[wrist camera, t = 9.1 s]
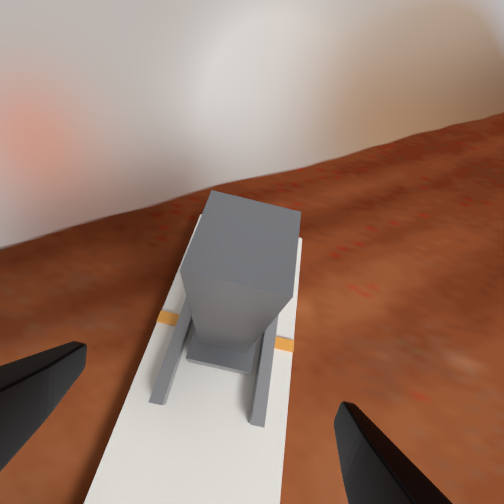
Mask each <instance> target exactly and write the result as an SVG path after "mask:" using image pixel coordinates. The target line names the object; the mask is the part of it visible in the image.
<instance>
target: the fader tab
mask: <svg viewBox="0 0 504 504" xmlns="http://www.w3.org/2000/svg"><path fill="white" fill-rule="evenodd" d="M300 218H301V212H300V211H295V210H291V209H287V208H283V207H279V206H275V205H271V204H266V203H262V202H258V201H254V200H250V199H246V198H242V197H238V196H233V195H229V194H225V193H221V192H217V191H213V190H212V191H211V193H210V196H209V198H208V201H207V203H206V206H205V208H204V211H203V213H202V216H201V218H200V221H199V223H198V226H197V228H196V231H195V233H194V236H193V238H192V241H191V243H190V246H189V248H188V251H187V253H186V256H185V258H184V261H183V263H182V266H181V268H180V274H181V278H182V281H183V285H184V289H185V292H186V296H187V300H188V304H189V307H190V311H191V315H192V319H193V322H194V326H195V330H194V333H193V336H192V339H191V343H190V346H189V349H188V352H187V356H186V359H187V361H188V362H191V363H195V364H200V365H204V366H209V367H213V368H218V369H222V370H227V371H231V372H236V373H240V374H245V375H248V374H250V373H251V370H252V364H253V358H254V352H255V346H256V341H257V340H258V338H259V337H260V336H261V335H262V334H263V332H264V331H265V330H266V329H267V328H268V326H269V325H270V324H271V323H272V322H273V320H274V319H275V318H276V317H277V316H278V314H279V313H280V312H281V311H282V309H283V308H284V307H285V306H286V305H287V303H288V302H289V301H290V300H291V299H292V297H293V291H294V281H295V270H296V260H297V249H298V239H299V228H300Z"/></svg>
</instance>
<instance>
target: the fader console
mask: <svg viewBox="0 0 504 504" xmlns="http://www.w3.org/2000/svg"><path fill="white" fill-rule="evenodd" d="M201 216H202V214H200V217H199V219H198V222H197V224H196V227H195V229H194V232H193V234H192V237H191V239H190V242H189V244H188V247H187V249H186V252H185V254H184V256H183V259H182V261H181V264H180V266H179V269H178V271H177V274H176V276H175V279H174V281H173V284H172V286H171V289H170V291H169V294H168V296H167V299H166V301H165V304H164V306H163V308H162V310H161V311H160V314H159V316H158V319H157V323H156V326H155V328H154V331H153V333H152V336H151V338H150V341H149V343H148V346H147V348H146V351H145V353H144V356H143V358H142V360H141V363H140V365H139V368H138V370H137V373H136V375H135V378H134V380H133V383H132V385H131V388H130V390H129V393H128V395H127V398H126V400H125V403H124V405H123V408H122V410H121V412H120V415H119V417H118V420H117V422H116V425H115V427H114V430H113V432H112V435H111V437H110V440H109V442H108V445H107V447H106V450H105V452H104V455H103V457H102V460H101V462H100V464H99V467H98V469H97V472H96V474H95V477H94V479H93V482H92V484H91V487H90V489H89V492H88V494H87V497H86V499H85V502H84V504H280V494H281V482H282V470H283V458H284V446H285V435H286V423H287V411H288V399H289V388H290V376H291V364H292V353H293V350H294V329H295V317H296V305H297V293H298V282H299V270H300V258H301V246H302V238H299V239H298V249H297V260H296V270H295V281H294V291H293V297H292V299H291V300H290V301H289V302H288V303H287V305H286V306H285V307H284V308H283V309H282V311H281V312H280V313H279V314H278V316H277V317H276V318H275V319H274V320H273V322H272V323H271V324H270V325H269V326H268V328H267V329H266V330H265V331H264V332H263V334H262V335H261V336H260V337H259V338H258V340H257V341H256V346H255V352H254V358H253V364H252V370H251V373H250V374H248V375H245V374H240V373H236V372H231V371H227V370H222V369H218V368H213V367H209V366H204V365H200V364H195V363H191V362H188V361H187V359H186V356H187V352H188V349H189V346H190V343H191V339H192V336H193V333H194V330H195V326H194V322H193V319H192V315H191V311H190V307H189V304H188V300H187V296H186V292H185V289H184V285H183V281H182V278H181V274H180V268H181V266H182V263H183V261H184V258H185V256H186V253H187V251H188V248H189V246H190V243H191V241H192V238H193V236H194V233H195V231H196V228H197V226H198V223H199V221H200V218H201Z"/></svg>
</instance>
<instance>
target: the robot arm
mask: <svg viewBox="0 0 504 504" xmlns="http://www.w3.org/2000/svg"><path fill="white" fill-rule="evenodd" d="M86 352H87V346H86V344H84V343H80V342H75V341H73V342H70V343H67V344H64V345H61V346H58V347H55V348H52V349H49V350H46V351H43V352H40V353H37V354H35V355H32V356H29V357H26V358H23V359H20V360H17V361H14V362H11V363H8V364H5V365H2V366H0V471H1V470H2V469H3V468H4V467H5V466H6V464H7V463H8V462H9V461H10V460H11V459H12V458H13V457H14V455H15V454H16V453H17V452H18V451H19V450H20V449H21V447H22V446H23V445H24V444H25V443H26V442H27V441H28V440H29V438H30V437H31V436H32V435H33V434H34V433H35V432H36V430H37V429H38V428H39V427H40V426H41V425H42V424H43V422H44V421H45V420H46V419H47V418H48V416H49V415H50V414H51V413H52V411H53V410H54V409H55V407H56V406H57V405H58V403H59V402H60V401H61V399H62V398H63V397H64V395H65V394H66V393H67V391H68V390H69V389H70V387H71V386H72V385H73V383H74V382H75V381H76V379H77V378H78V377H79V375H80V374H81V373H82V371H83V369H84V367H85V363H86ZM334 430H335V436H336V442H337V448H338V454H339V460H340V466H341V472H342V477H343V482H344V486H345V491H346V495H347V499H348V503H349V504H452V503H451V502H450V501H449V499H448V498H447V497H446V496H445V495H444V494H443V493H442V492H441V491H440V490H439V489H438V488H437V487H436V486H435V485H434V484H433V483H432V482H431V481H430V480H429V479H428V478H427V477H426V476H425V475H424V474H423V473H422V472H421V471H420V470H419V469H418V468H417V467H416V466H415V465H414V464H413V463H412V462H411V461H410V460H409V459H408V458H407V457H406V456H405V455H404V454H403V453H402V452H401V451H400V450H399V449H398V448H397V447H396V445H395V444H394V443H393V442H392V441H391V440H390V439H389V438H388V437H387V436H386V435H385V434H384V433H383V432H382V431H381V430H380V429H379V428H378V427H377V426H376V425H375V424H374V423H373V422H372V421H371V420H370V419H369V418H368V417H367V416H366V415H365V414H364V413H363V412H362V411H361V410H360V409H359V408H358V407H357V406H356V405H355V404H353V403H350V402H345V401H343V402H341V404H340V406H339V409H338V411H337V414H336V417H335V420H334Z"/></svg>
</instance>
